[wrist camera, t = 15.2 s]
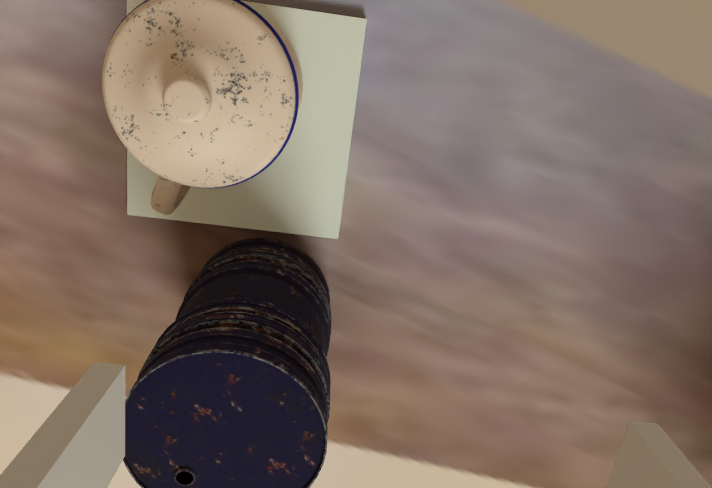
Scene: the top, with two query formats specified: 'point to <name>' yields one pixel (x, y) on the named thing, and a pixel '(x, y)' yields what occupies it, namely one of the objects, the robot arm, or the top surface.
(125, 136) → the teacup with lid
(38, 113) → the top surface
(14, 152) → the top surface
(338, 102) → the coaster
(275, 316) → the dark blue canister
